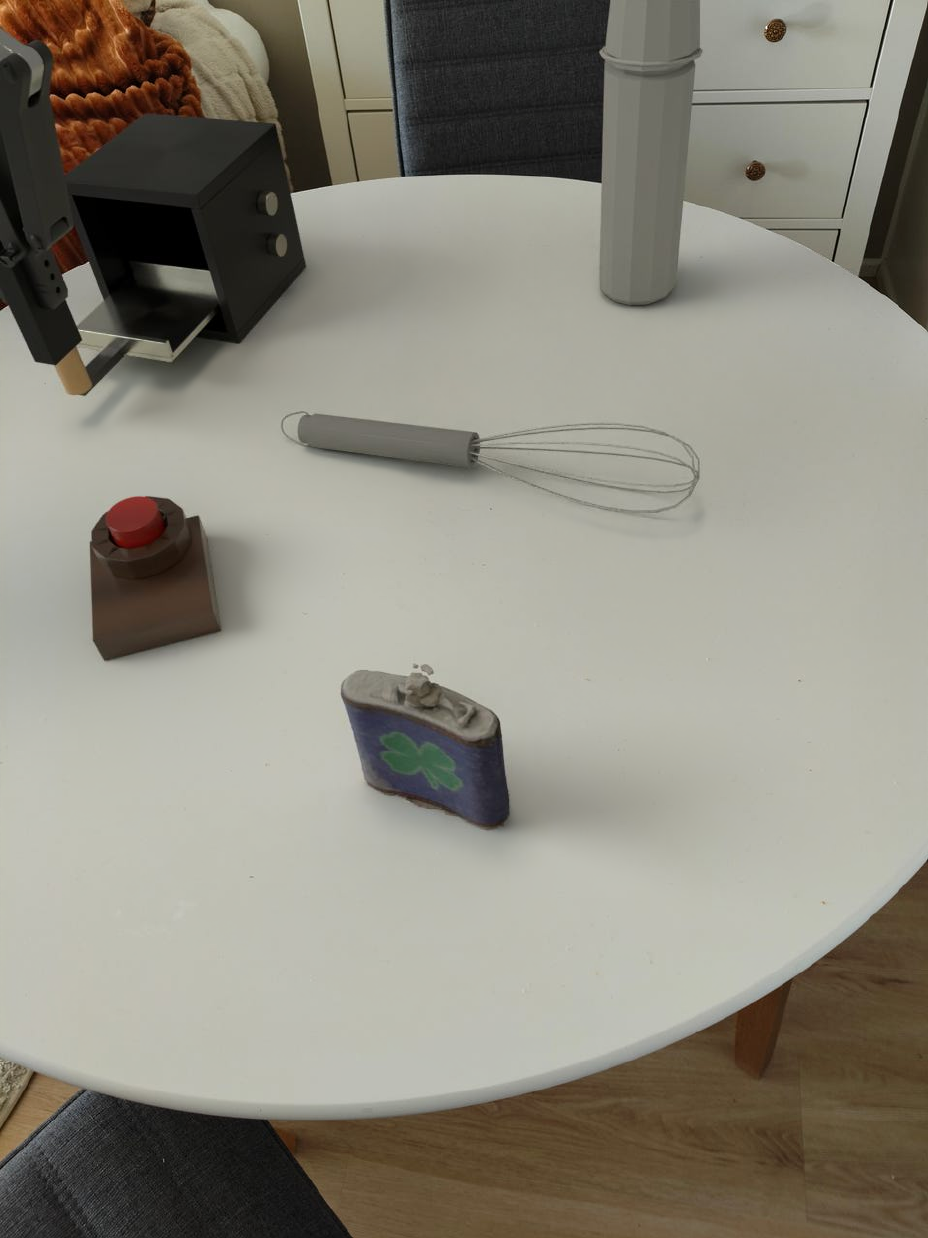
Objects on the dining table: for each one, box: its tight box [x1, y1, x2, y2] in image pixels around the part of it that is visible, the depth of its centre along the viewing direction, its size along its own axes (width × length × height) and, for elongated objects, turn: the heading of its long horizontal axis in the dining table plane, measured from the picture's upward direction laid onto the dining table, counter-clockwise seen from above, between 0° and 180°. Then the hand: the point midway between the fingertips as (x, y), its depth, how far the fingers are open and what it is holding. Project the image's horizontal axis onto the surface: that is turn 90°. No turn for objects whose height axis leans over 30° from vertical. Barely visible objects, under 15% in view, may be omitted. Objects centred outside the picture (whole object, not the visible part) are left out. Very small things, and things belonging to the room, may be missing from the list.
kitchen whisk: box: [280, 410, 701, 514], centre depth 74 cm, size 6×34×6 cm, turn 69°
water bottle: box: [598, 0, 704, 306], centre depth 84 cm, size 9×8×25 cm
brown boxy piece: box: [89, 495, 222, 662], centre depth 70 cm, size 11×8×4 cm
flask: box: [340, 663, 511, 830], centre depth 54 cm, size 9×3×11 cm, turn 65°
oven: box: [64, 112, 307, 344], centre depth 92 cm, size 15×14×14 cm
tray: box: [53, 258, 221, 397], centre depth 84 cm, size 11×19×10 cm, turn 160°
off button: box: [106, 495, 165, 549], centre depth 69 cm, size 4×4×2 cm
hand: (58, 350), depth 59 cm, fingers closed
